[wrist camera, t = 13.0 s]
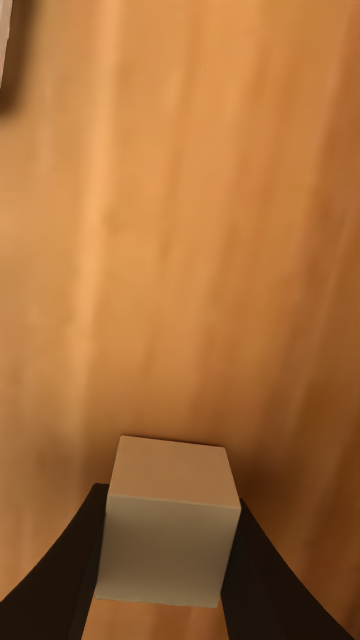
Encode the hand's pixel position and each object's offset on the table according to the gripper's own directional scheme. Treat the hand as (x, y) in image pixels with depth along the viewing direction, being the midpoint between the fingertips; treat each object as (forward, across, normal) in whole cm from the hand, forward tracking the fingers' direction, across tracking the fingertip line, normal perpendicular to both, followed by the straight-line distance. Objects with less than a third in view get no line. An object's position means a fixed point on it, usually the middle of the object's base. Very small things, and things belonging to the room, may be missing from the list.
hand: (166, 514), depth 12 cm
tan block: (+1, 0, 0) cm, 1 cm away
